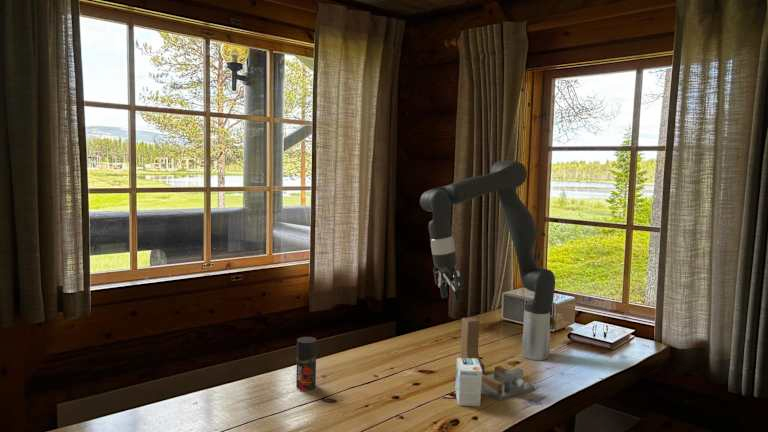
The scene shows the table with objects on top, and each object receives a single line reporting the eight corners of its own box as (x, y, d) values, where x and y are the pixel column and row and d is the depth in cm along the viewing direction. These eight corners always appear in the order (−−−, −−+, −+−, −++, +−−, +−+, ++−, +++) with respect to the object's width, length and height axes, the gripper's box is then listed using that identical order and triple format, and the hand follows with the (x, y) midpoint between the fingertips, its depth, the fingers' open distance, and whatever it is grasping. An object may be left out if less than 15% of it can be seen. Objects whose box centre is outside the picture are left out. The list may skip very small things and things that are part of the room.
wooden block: (484, 377, 183) (487, 324, 181) (472, 378, 181) (475, 325, 180) (470, 367, 191) (473, 316, 190) (459, 368, 190) (461, 317, 188)
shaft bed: (501, 374, 186) (502, 354, 185) (538, 390, 173) (539, 369, 173) (466, 384, 177) (467, 362, 176) (502, 402, 164) (503, 379, 164)
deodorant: (318, 384, 173) (319, 338, 171) (310, 392, 167) (311, 344, 166) (301, 381, 175) (302, 335, 173) (292, 389, 169) (293, 341, 167)
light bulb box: (454, 390, 172) (456, 357, 171) (476, 391, 172) (478, 357, 170) (458, 405, 161) (459, 370, 160) (481, 406, 161) (483, 371, 160)
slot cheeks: (498, 373, 184) (498, 365, 184) (524, 384, 176) (524, 376, 175) (472, 380, 178) (472, 372, 177) (497, 392, 169) (497, 384, 168)
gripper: (465, 250, 173) (473, 300, 174) (442, 246, 186) (450, 293, 187) (445, 255, 170) (453, 306, 171) (422, 252, 183) (431, 299, 184)
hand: (451, 299), depth 179 cm, fingers open, 8 cm apart
